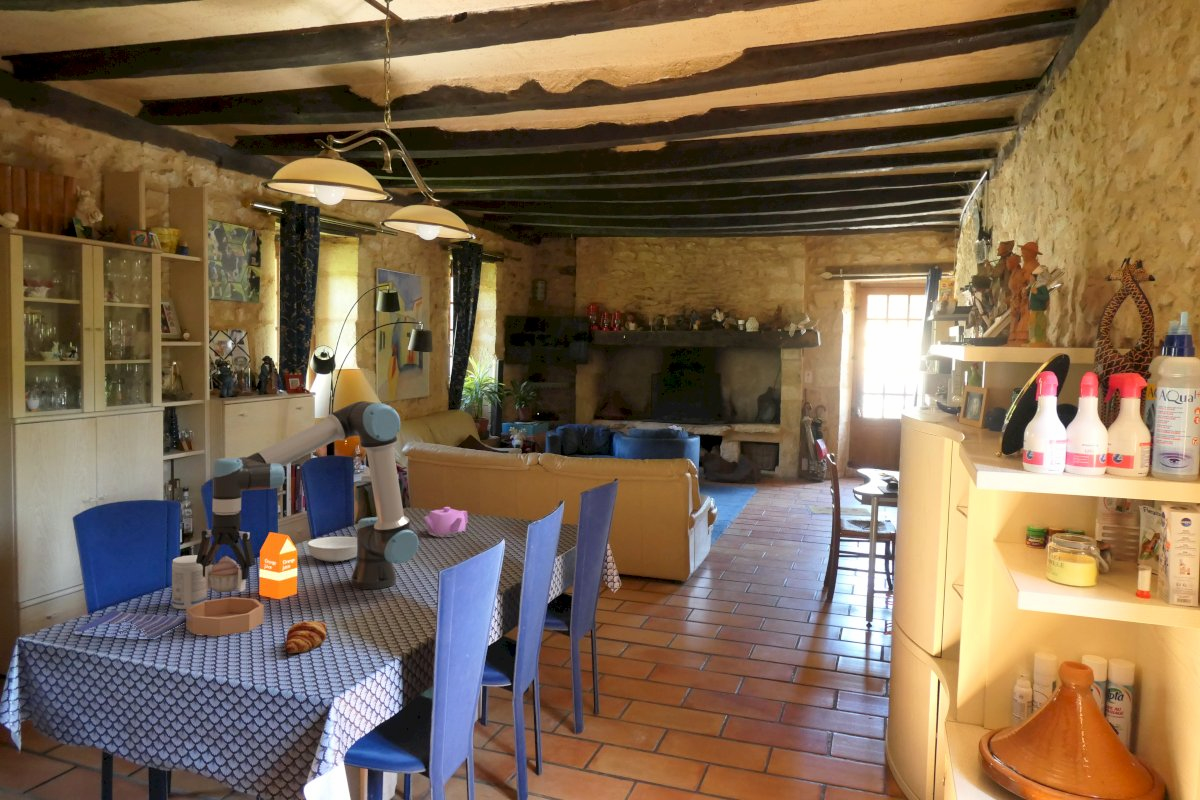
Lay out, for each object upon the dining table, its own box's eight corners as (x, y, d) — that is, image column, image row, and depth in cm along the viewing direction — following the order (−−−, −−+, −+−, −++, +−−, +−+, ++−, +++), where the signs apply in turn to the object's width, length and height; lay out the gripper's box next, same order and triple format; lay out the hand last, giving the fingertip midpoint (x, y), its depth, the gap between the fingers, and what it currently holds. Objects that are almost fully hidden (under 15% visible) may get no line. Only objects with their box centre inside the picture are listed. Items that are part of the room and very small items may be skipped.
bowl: (272, 616, 244) (273, 600, 244) (238, 638, 225) (238, 620, 225) (212, 612, 246) (213, 595, 246) (173, 633, 227) (174, 615, 227)
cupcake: (229, 595, 230) (230, 560, 229) (200, 592, 231) (200, 557, 231) (249, 586, 239) (250, 553, 238) (221, 584, 240) (221, 550, 240)
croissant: (313, 642, 234) (301, 617, 234) (343, 628, 233) (332, 603, 233) (278, 669, 213) (265, 641, 213) (312, 653, 212) (298, 625, 212)
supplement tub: (206, 599, 258) (207, 553, 257) (206, 608, 249) (207, 561, 249) (172, 602, 254) (172, 556, 253) (170, 611, 245) (171, 563, 244)
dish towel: (112, 617, 239) (112, 608, 239) (189, 622, 238) (190, 613, 237) (70, 637, 222) (70, 627, 222) (153, 643, 221) (153, 632, 220)
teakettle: (468, 531, 371) (469, 504, 370) (461, 539, 354) (461, 511, 353) (431, 529, 371) (432, 503, 371) (422, 538, 354) (423, 510, 354)
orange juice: (277, 589, 272) (278, 530, 271) (297, 593, 268) (298, 533, 267) (258, 594, 265) (259, 534, 264) (278, 599, 261) (279, 537, 260)
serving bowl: (372, 554, 323) (372, 537, 322) (351, 567, 302) (351, 549, 301) (321, 551, 325) (322, 534, 324) (297, 564, 304) (297, 546, 303)
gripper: (269, 512, 236) (268, 588, 238) (198, 507, 239) (196, 583, 240) (256, 517, 229) (254, 595, 230) (182, 512, 231) (181, 590, 232)
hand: (225, 589), depth 235 cm, fingers closed on cupcake, 9 cm apart
